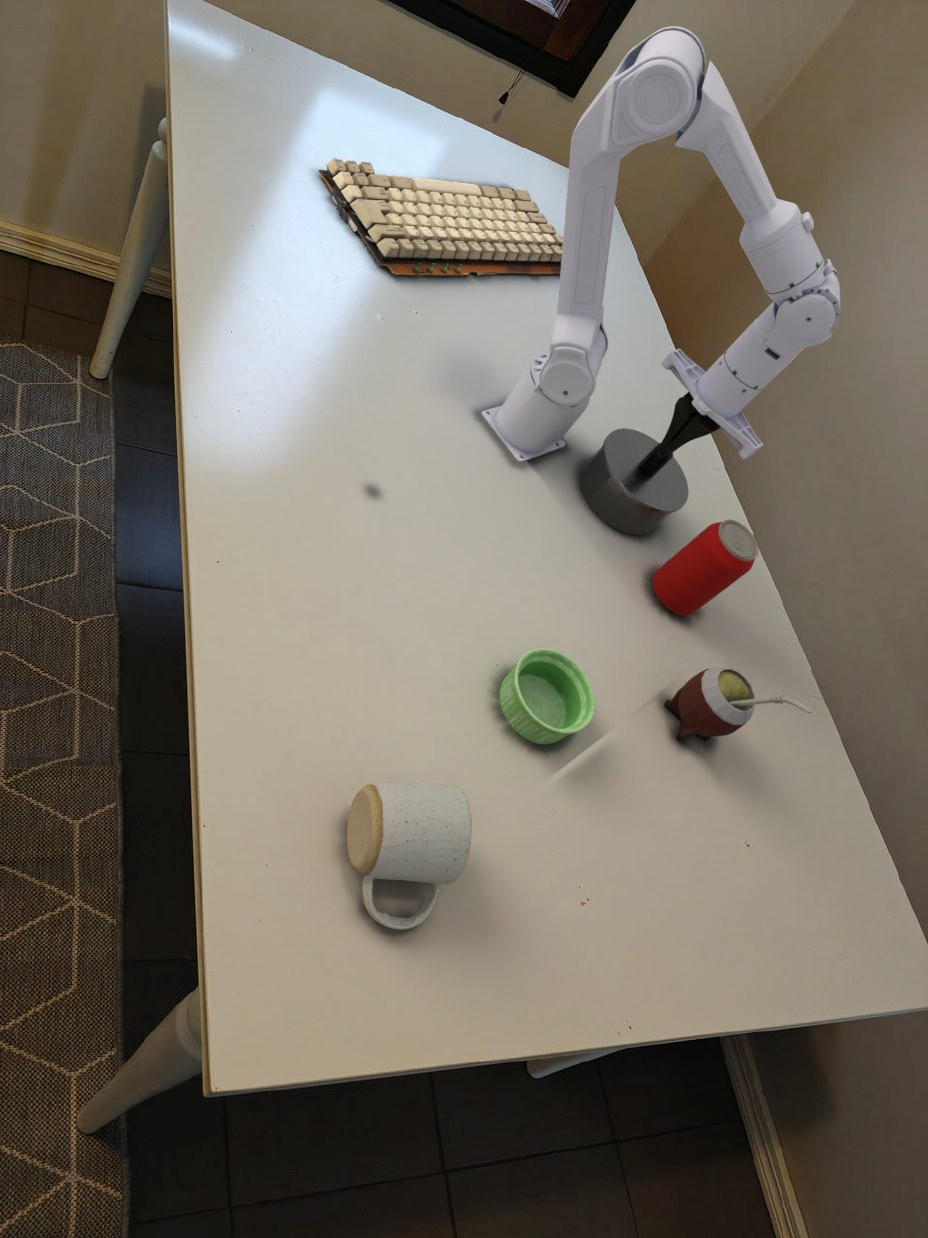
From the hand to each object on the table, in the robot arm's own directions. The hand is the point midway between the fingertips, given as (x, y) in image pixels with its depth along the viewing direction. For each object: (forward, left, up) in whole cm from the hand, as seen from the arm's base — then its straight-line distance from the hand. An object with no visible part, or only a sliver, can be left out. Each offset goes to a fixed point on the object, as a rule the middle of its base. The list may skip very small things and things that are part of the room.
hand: (665, 450), depth 102 cm
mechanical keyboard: (-9, -47, -10) cm, 49 cm away
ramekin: (+33, +16, -10) cm, 38 cm away
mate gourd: (+16, +27, -10) cm, 33 cm away
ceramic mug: (+55, +20, -10) cm, 59 cm away
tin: (0, 0, -9) cm, 9 cm away
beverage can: (+4, +14, -10) cm, 17 cm away
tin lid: (0, 0, -4) cm, 4 cm away
